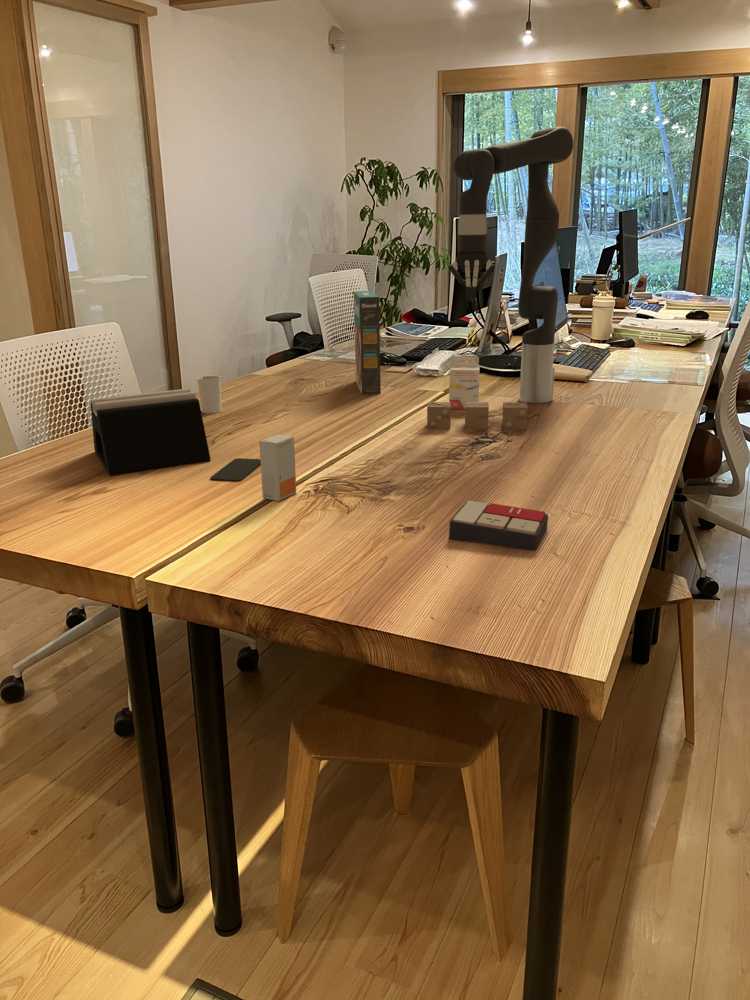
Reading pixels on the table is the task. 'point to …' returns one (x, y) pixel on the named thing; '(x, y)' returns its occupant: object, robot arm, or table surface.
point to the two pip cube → (515, 416)
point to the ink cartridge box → (464, 381)
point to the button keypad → (498, 525)
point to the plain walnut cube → (476, 415)
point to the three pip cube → (438, 415)
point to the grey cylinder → (210, 393)
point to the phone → (237, 470)
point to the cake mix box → (367, 342)
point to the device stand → (148, 431)
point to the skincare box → (278, 467)
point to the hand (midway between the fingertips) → (471, 300)
